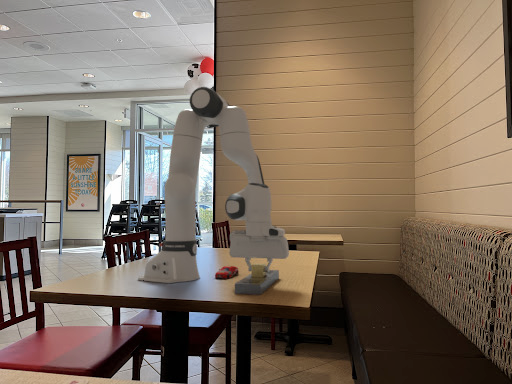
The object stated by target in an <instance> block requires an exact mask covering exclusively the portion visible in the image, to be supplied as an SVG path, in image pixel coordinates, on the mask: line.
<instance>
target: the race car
mask: <svg viewBox="0 0 512 384" xmlns="http://www.w3.org/2000/svg"><path fill="white" fill-rule="evenodd" d="M239 272H240V271H239V267H236V266H234V265H225V266H223V267H221V268H220V269H218V271H217V272H215V274H214V278H215V279H224V280H229V279H230V278H232V277H235V276H238V275H239Z"/></svg>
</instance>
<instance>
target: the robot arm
mask: <svg viewBox="0 0 512 384" xmlns="http://www.w3.org/2000/svg"><path fill="white" fill-rule="evenodd" d="M189 106H190V108H186V109H183V110H181V111H180V112H179V113H178V115H177V117H176V121H175V124H174V128H173V133H172V141H171V149H170V156H169V165H168V166H169V167H168V168H169V169H168V178H167V179H166V181H165V184H164V210H165V213H164V214H165V240H164V241H162V242H160V243H158V244H159V246H158V247H161V249H160V250H159V252H158V253H157V254H155V255H154V256H152V257H151V258H150V259H149V260H148V261H147V262H146V264H145V267H144V273H143V274H141V275H139V276H138V277H137V279H138V281H143V280H144V281H145V282H153V283H164V284H174V283H179V282H180V283H181V282H189V281H190V282H191V281H195V280H199V279H200V278H201V276H200V273H199V268H198V263H197V255H198V254H197V252H198V245H197V243H198V241H197V239H196V232H197V231H196V229H197V228H196V223H197V220H196V219H197V217H196V214H197V213H196V210H197V207H196V204H197V202H196V200H197V199H196V198H197V197H196V196H197V195H196V193H197V192H196V191H197V182H198V175H199V174H198V173H199V166H200V159H201V151H202V145H203V144H202V143H203V138H204V137H203V136H204V132H205V131H204V130H205V129H206V128H208V129H213V128H217V127H218V129H219V130H218V131H219V141H220V149H221V152H222V154H223V155H224V156H225V157H226V158H227V160H229V161H230V162H233V163H234V164H236V165H238V166H239V167H241V169H242V170H243V171H244V173H245V174H246V178H247V182H248V183H247V184H246V186H245V187H244V188H243V189H241V190H240V191H237V192H235V193H232V194H230V195H229V196H228V197H227V199H226V200H225V204H224V208H225V210H224V211H225V213H226V215H227V218H229V219H230V220H233V221H245V230H244V229H243V230H242V229H241V230H237V229H235V230H233V231H231V233H230V234H229V242H230V245H229V251H228V253H229V256H230V257H231V258H237V259H238V258H243V259H244V258H245V259H244V262H245V264H246V265H247V266H248V272H252V265H253V264H252V263H251V262H250V261H251V260H252V259H266V261H267V264H266V266H264V272H269V270H270V266H271V264H272V263H273V260H275V259H276V260H277V259H280V260H286V259H287V258H288V257H289V255H290V252H289V251H290V250H289V243H288V239H287V237H286V236H285V234H286V230H285V229H284V228H281V227H277V226H275V225H272V222H273V221H272V218H271V213H272V193H271V190H270V186H269V185H267V184H265V181H264V176H263V171H262V167H261V166H262V165H261V162H260V158H259V156H258V155H257V153H256V152H255V150H254V148H253V144H252V141H251V140H252V139H251V131H250V125H249V121H248V118H247V114H246V111H245V110H244V109H243V108H242V107H240V106H237V105H236V106H235V105H233V106H230V104H229V103H228V102H227V101H226V99H225V98H224V97H223V96H221V94H219V93H217V92H216V91H215V89H213V88H211V87H207V86H199V87H197V88H196V89H194V90H193V92H192V93H191V94H190V96H189Z"/></svg>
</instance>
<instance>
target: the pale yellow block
mask: <svg viewBox="0 0 512 384" xmlns="http://www.w3.org/2000/svg"><path fill="white" fill-rule="evenodd" d="M251 265H252V271H251V273H252V277H255V278H265V277H266V272H264V266H267V264H266V263H257V262H256V263H253V264H251Z"/></svg>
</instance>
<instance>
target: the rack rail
mask: <svg viewBox="0 0 512 384" xmlns="http://www.w3.org/2000/svg"><path fill="white" fill-rule="evenodd" d="M279 279H280V270H278V269H269V272H266V277H265V278H255V277H252V272H251V273H250V274H248V275H247V276H245V277H243V278H242V279H240V280H238V281H237V282H235V283H234V294H236V295H253V296H260V295H262V294H263V293H265V292H266V290H268V288H270V287H271V286H272V285H274V283H276V282H277V281H278V280H279Z"/></svg>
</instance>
